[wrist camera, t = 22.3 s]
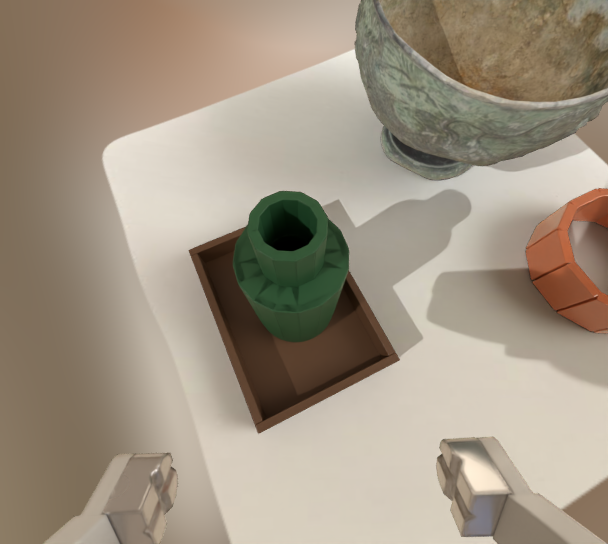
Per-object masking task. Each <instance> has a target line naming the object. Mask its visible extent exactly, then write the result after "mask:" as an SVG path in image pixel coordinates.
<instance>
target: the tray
mask: <svg viewBox="0 0 608 544" xmlns="http://www.w3.org/2000/svg"><path fill="white" fill-rule="evenodd" d="M245 228H246V227H244V228H242V229H239V230H237V231H234V232H232V233H229V234H227V235H224V236H222V237H220V238H217V239H215V240H212V241H210V242H207V243H205V244H202V245H200V246H198V247H195V248H193V249H190V250H189V253H190V255H191V258H192V261H193V263H194V266H195V269H196V271H197V274H198V276H199V279H200V282H201V284H202V287H203V290H204V292H205V295H206V297H207V300H208V303H209V305H210V308H211V311H212V313H213V316H214V319H215V321H216V324H217V326H218V329H219V332H220V334H221V337H222V340H223V342H224V345H225V347H226V350H227V353H228V355H229V358H230V361H231V363H232V366H233V369H234V371H235V374H236V376H237V379H238V382H239V384H240V387H241V390H242V392H243V395H244V397H245V400H246V403H247V405H248V408H249V411H250V413H251V416H252V419H253V421H254V424H255V427H256V429H257V432H258V434H259V433H261V432H263V431H265V430H267V429H269V428H271V427H273V426H275V425H276V424H278V423H280V422H282V421H284V420H286V419H288V418H290V417H292V416H294V415H296V414H298V413H299V412H301V411H303V410H305V409H307V408H309V407H311V406H313V405H315V404H317V403H319V402H321V401H322V400H324V399H326V398H328V397H330V396H332V395H334V394H336V393H338V392H340V391H342V390H344V389H345V388H347V387H349V386H351V385H353V384H355V383H357V382H359V381H361V380H363V379H365V378H367V377H368V376H370V375H372V374H374V373H376V372H378V371H380V370H382V369H384V368H386V367H388V366H390V365H391V364H393V363H395V362H397V361H399V360H400V359H399V357H398V356H397V354H396V353H395V351H394V349H393V347H392V345H391V344H390V342H389V340H388V338H387V337H386V335H385V333H384V331H383V329H382V328H381V326H380V324H379V322H378V321H377V319H376V317H375V315H374V314H373V312H372V310H371V308H370V307H369V305H368V303H367V301H366V300H365V298H364V296H363V294H362V293H361V291H360V289H359V287H358V286H357V284H356V282H355V280H354V279H353V277H352V275H351V273H350V272H349V270H348V274H347V276H346V279H345V282H344V285H343V288H342V291H341V294H340V297H339V299H338V302H337V305H336V308H335V311H334V314H333V316H332V318H331V320H330V322H329V324H328V326H327V327H326V328H325V329H324V331H323V332H322V333H320V334H319V335H318V336H316V337H314V338H312V339H310V340H307V341H304V342H288V341H284V340H281V339H279V338H277V337H275V336H274V335H273V334H271V333H270V332H269V331H268V330H267V329H266V327H265V326H264V325H263V324H262V322H261V321H260V319H259V317H258V316H257V314H256V313H255V311H254V309H253V308H252V306H251V304H250V303H249V301H248V299H247V298H246V296H245V295H244V293H243V291H242V290H241V288H240V286H239V284H238V282H237V278H236V275H235V271H234V268H233V257H234V250H235V244H236V242H237V240H238V239H239V237H240V236H241V234H242V232H243V231H244V229H245Z"/></svg>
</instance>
